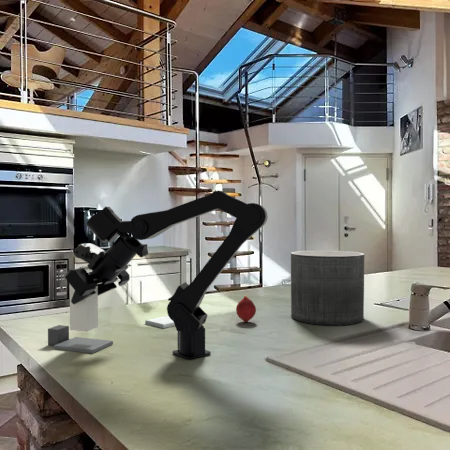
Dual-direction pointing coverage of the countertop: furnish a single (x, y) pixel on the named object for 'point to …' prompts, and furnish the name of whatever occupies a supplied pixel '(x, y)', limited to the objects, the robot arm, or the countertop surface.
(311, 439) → the countertop surface
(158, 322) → the external hard drive
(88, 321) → the brick
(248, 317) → the onion
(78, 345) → the charging dock
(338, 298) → the planter
